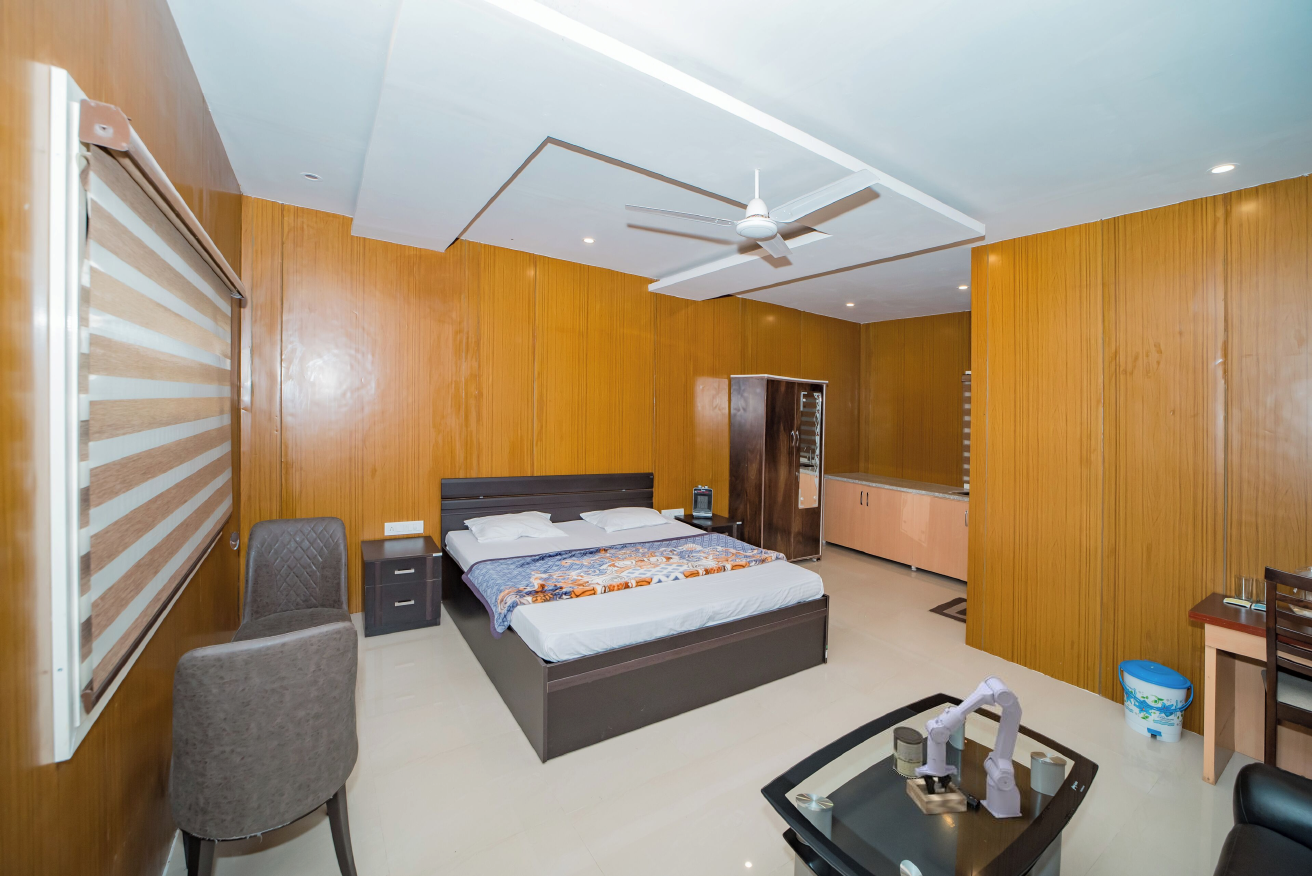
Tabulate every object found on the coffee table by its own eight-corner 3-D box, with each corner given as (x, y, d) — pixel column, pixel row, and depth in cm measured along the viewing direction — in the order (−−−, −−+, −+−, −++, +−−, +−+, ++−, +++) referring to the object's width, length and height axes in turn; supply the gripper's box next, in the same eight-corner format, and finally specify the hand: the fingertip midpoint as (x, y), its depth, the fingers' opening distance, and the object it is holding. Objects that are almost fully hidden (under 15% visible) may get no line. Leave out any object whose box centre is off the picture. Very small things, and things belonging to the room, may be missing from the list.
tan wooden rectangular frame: (945, 789, 192) (945, 776, 191) (966, 810, 181) (966, 798, 180) (906, 792, 190) (906, 779, 190) (925, 814, 179) (925, 801, 179)
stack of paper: (937, 797, 187) (937, 778, 187) (944, 805, 183) (944, 786, 183) (928, 798, 187) (928, 779, 187) (935, 806, 183) (935, 786, 183)
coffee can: (886, 764, 205) (887, 728, 205) (908, 759, 209) (908, 724, 208) (907, 781, 196) (907, 744, 195) (929, 775, 199) (929, 738, 199)
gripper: (948, 748, 190) (947, 785, 190) (910, 750, 188) (909, 788, 188) (961, 760, 183) (960, 799, 183) (922, 763, 181) (921, 802, 181)
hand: (935, 794), depth 185 cm, fingers closed on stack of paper, 3 cm apart
